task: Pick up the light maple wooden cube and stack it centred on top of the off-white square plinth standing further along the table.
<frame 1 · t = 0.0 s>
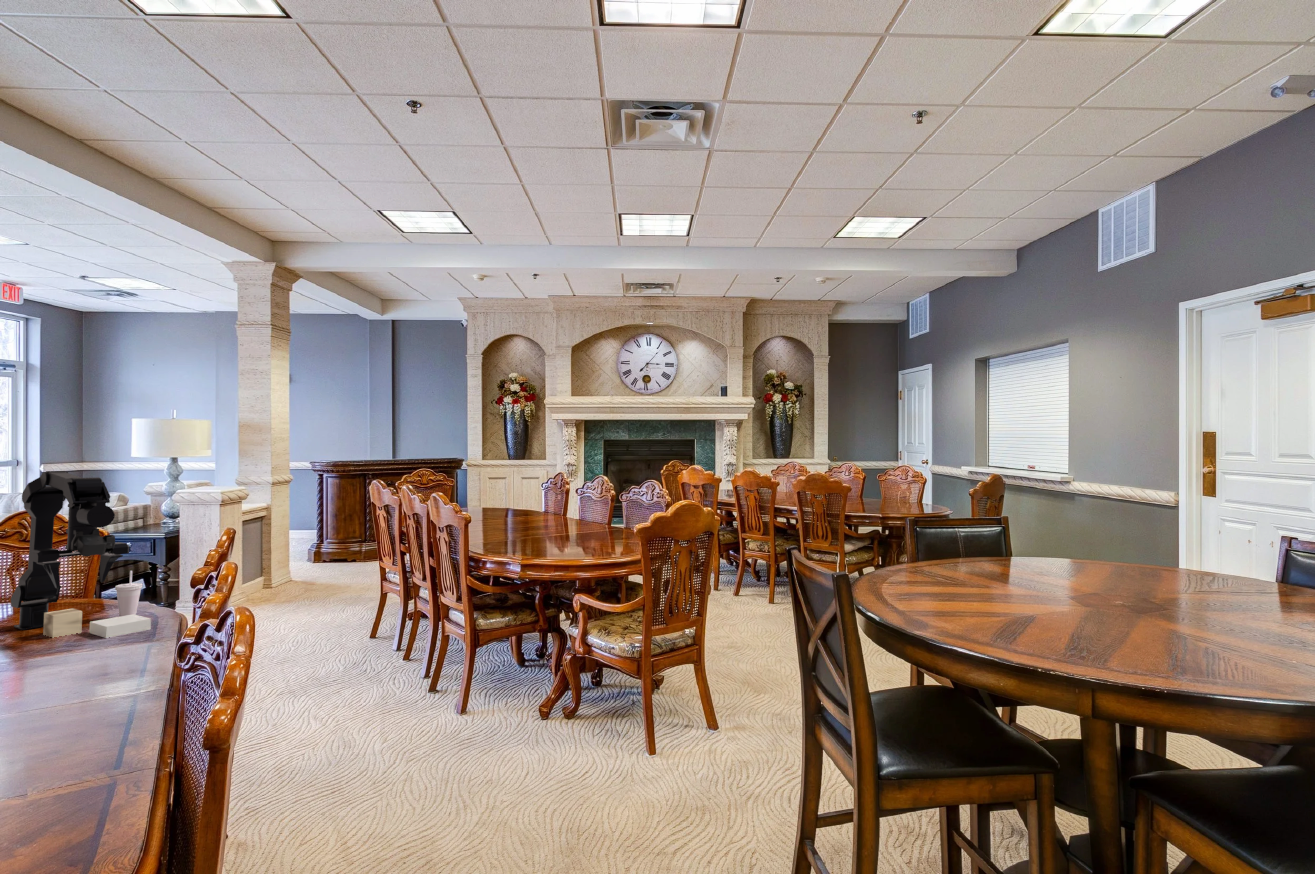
hand: (80, 584, 165), 15 cm above the table, tool pointing down, fingers open, 9 cm apart
smoothie: (127, 618, 189), on the table
maple cube: (62, 634, 172), on the table
plinth: (120, 631, 175), on the table
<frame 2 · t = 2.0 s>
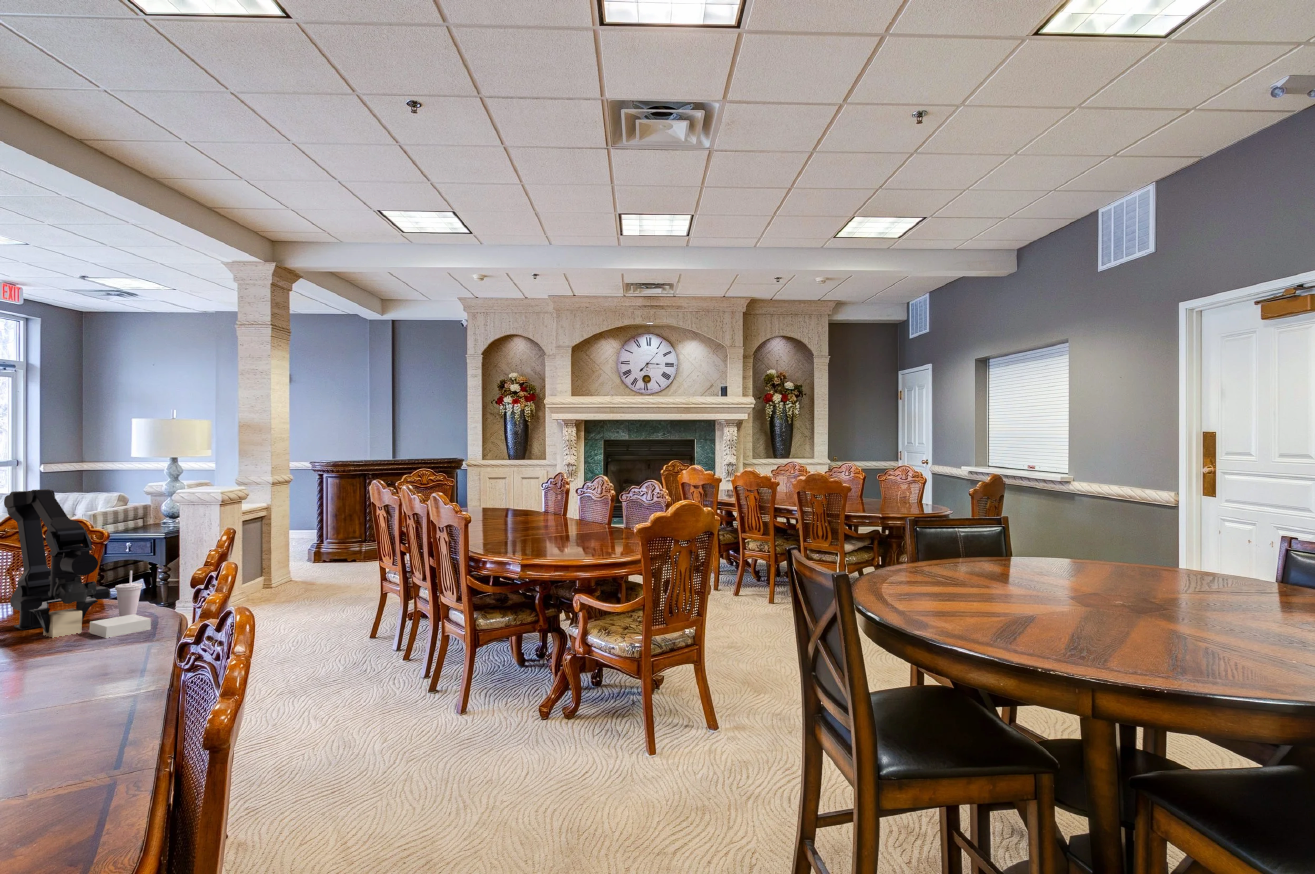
hand: (62, 629, 172), 1 cm above the table, tool pointing down, fingers closed on maple cube, 6 cm apart
maple cube: (62, 634, 172), on the table, touching gripper
everything else where it was.
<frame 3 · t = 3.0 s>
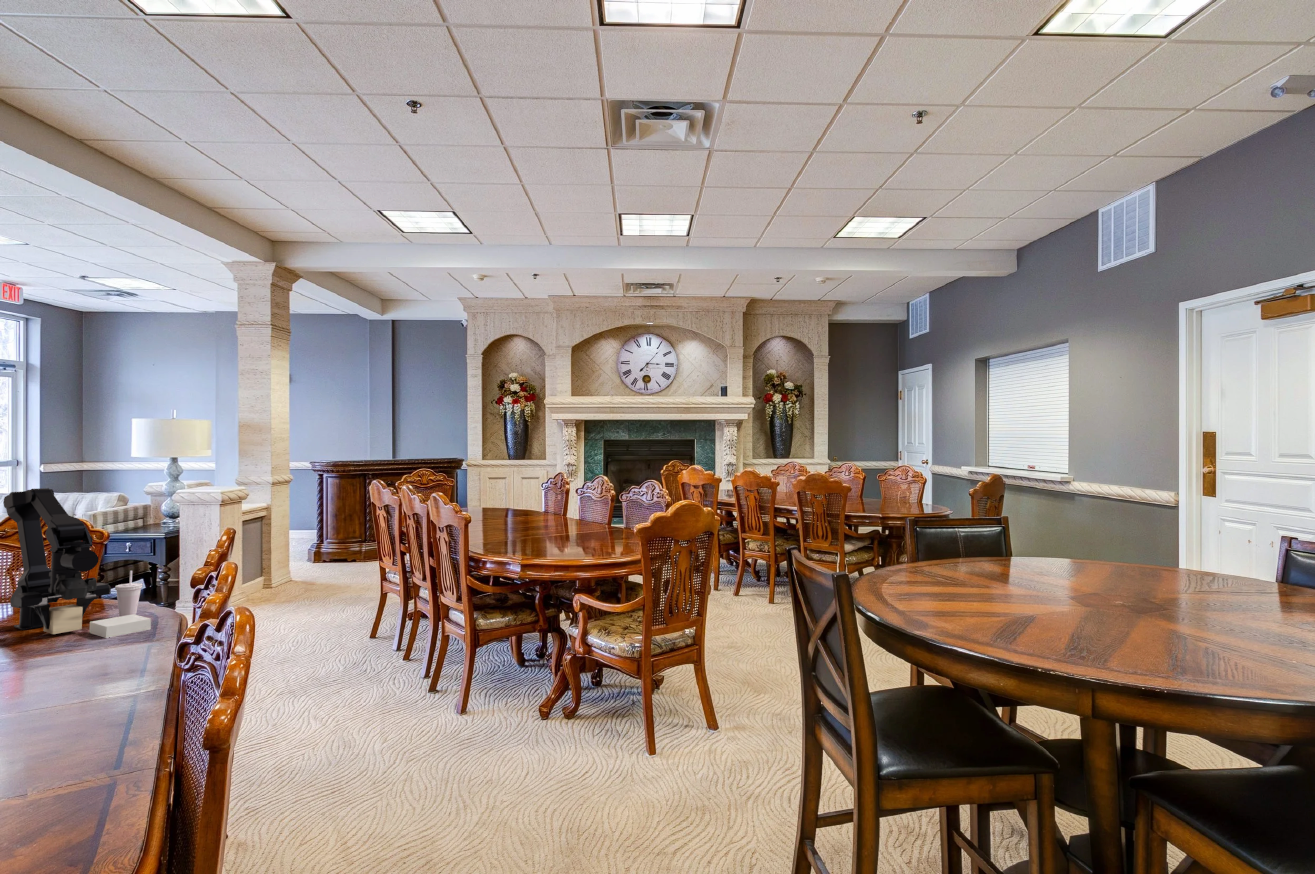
hand: (62, 626, 172), 2 cm above the table, tool pointing down, fingers closed on maple cube, 6 cm apart
maple cube: (62, 630, 172), point 1 cm above the table, touching gripper
everything else where it was.
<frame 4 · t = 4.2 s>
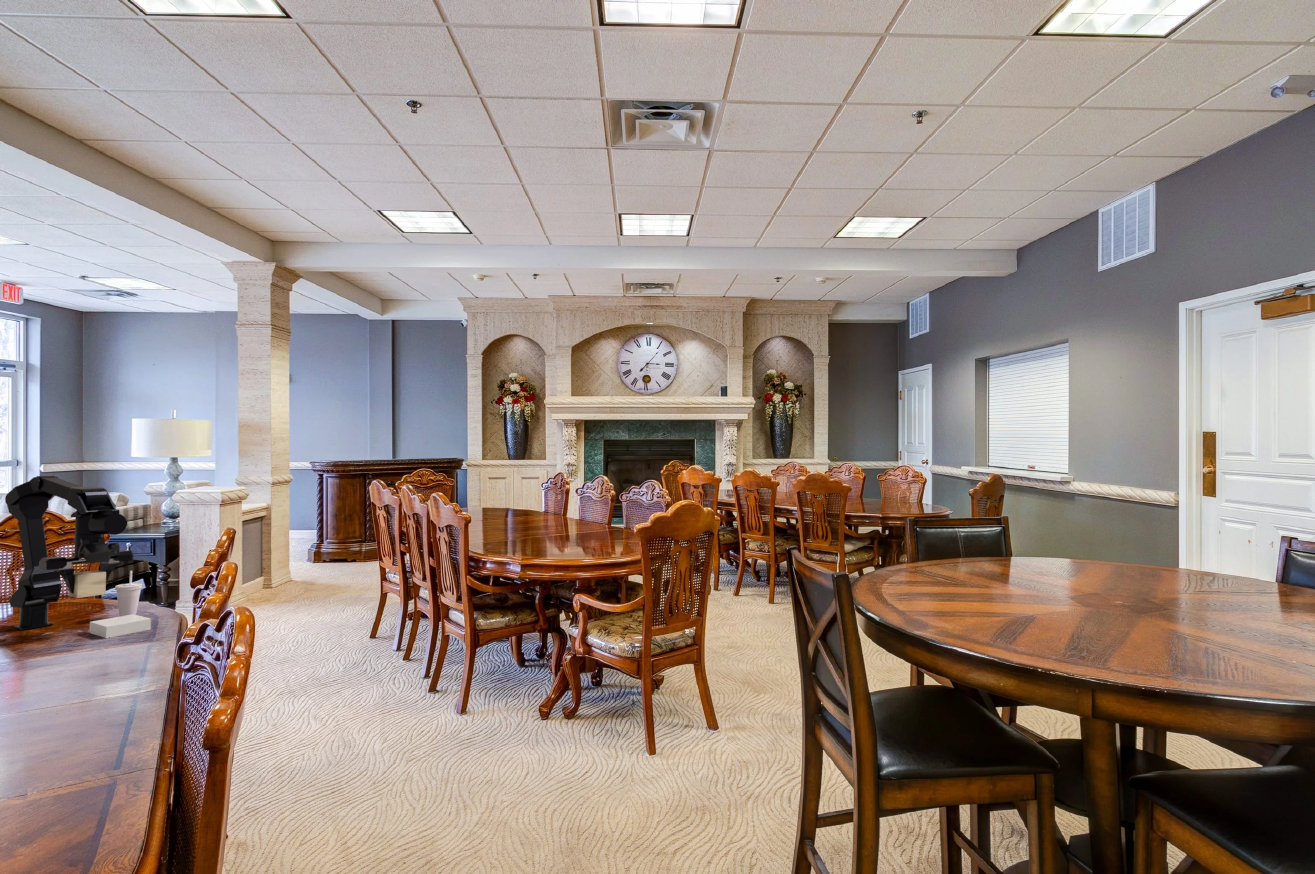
hand: (87, 590, 173), 11 cm above the table, tool pointing down, fingers closed on maple cube, 6 cm apart
maple cube: (86, 594, 173), point 10 cm above the table, touching gripper
everything else where it was.
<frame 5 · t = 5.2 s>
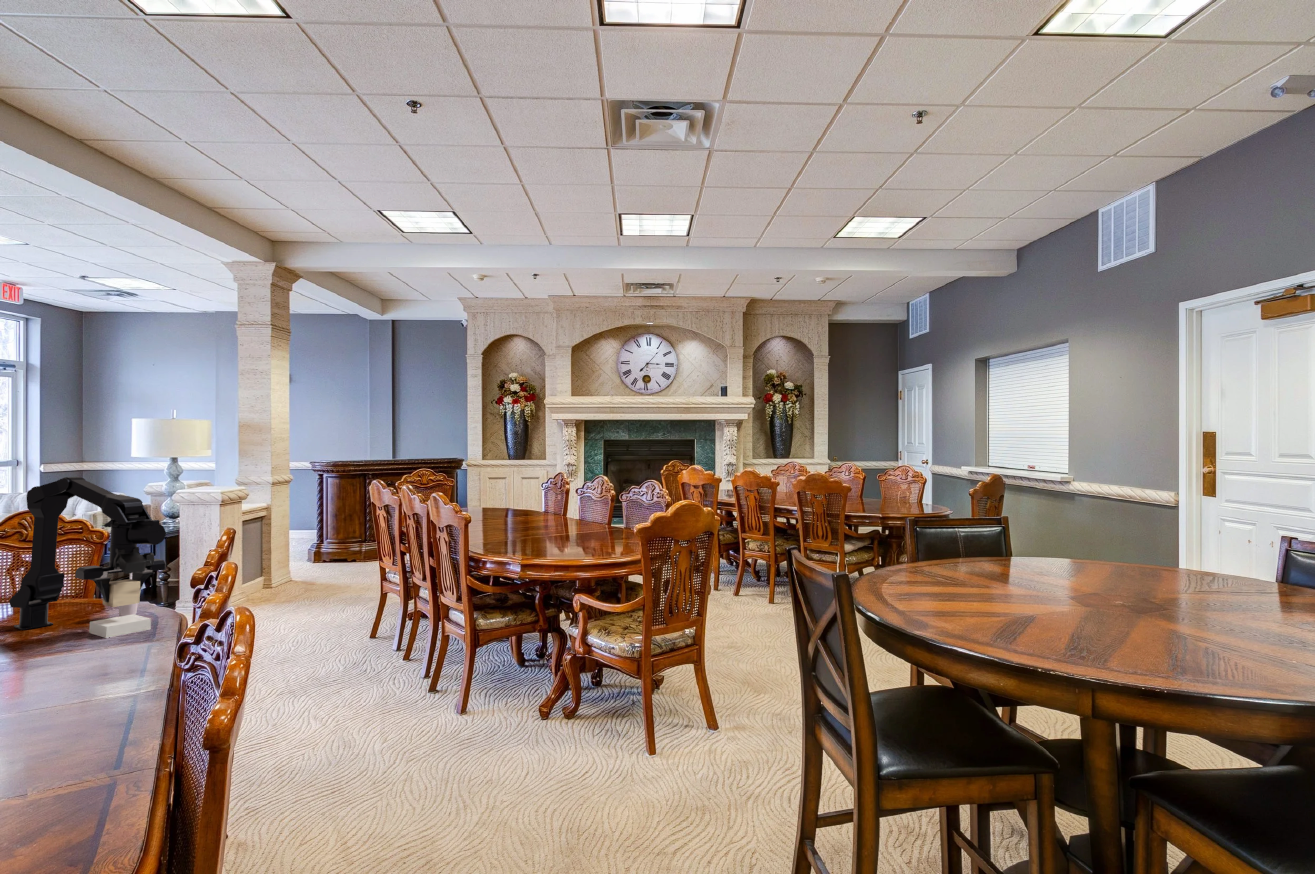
hand: (121, 599, 175), 9 cm above the table, tool pointing down, fingers closed on maple cube, 6 cm apart
maple cube: (121, 603, 175), point 8 cm above the table, touching gripper
everything else where it was.
when the fingers open (5 cm above the table, at t = 6.2 s): maple cube drops 1 cm, resting on plinth.
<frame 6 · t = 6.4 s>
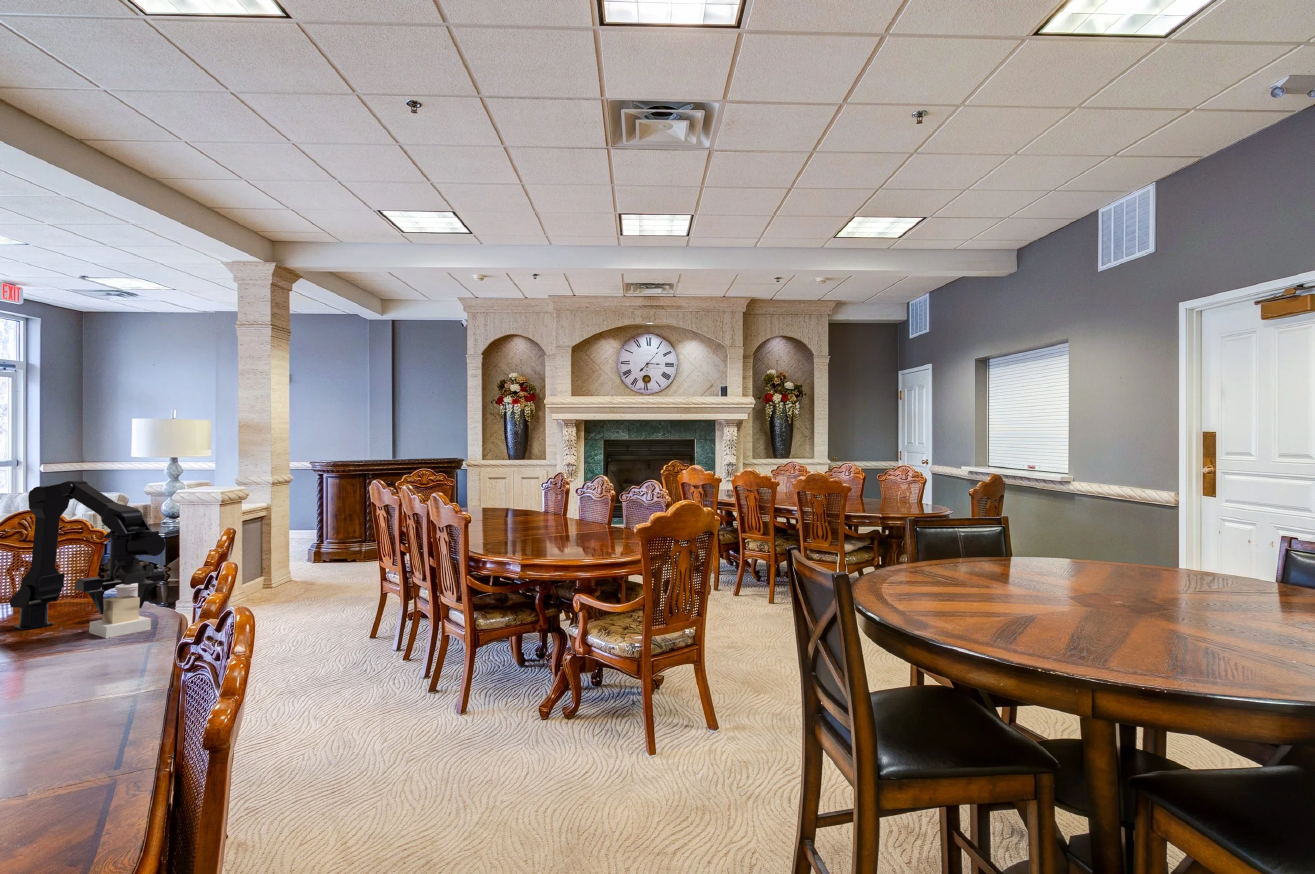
hand: (121, 611, 175), 5 cm above the table, tool pointing down, fingers open, 8 cm apart
maple cube: (120, 620, 175), point 3 cm above the table, touching plinth
everything else where it was.
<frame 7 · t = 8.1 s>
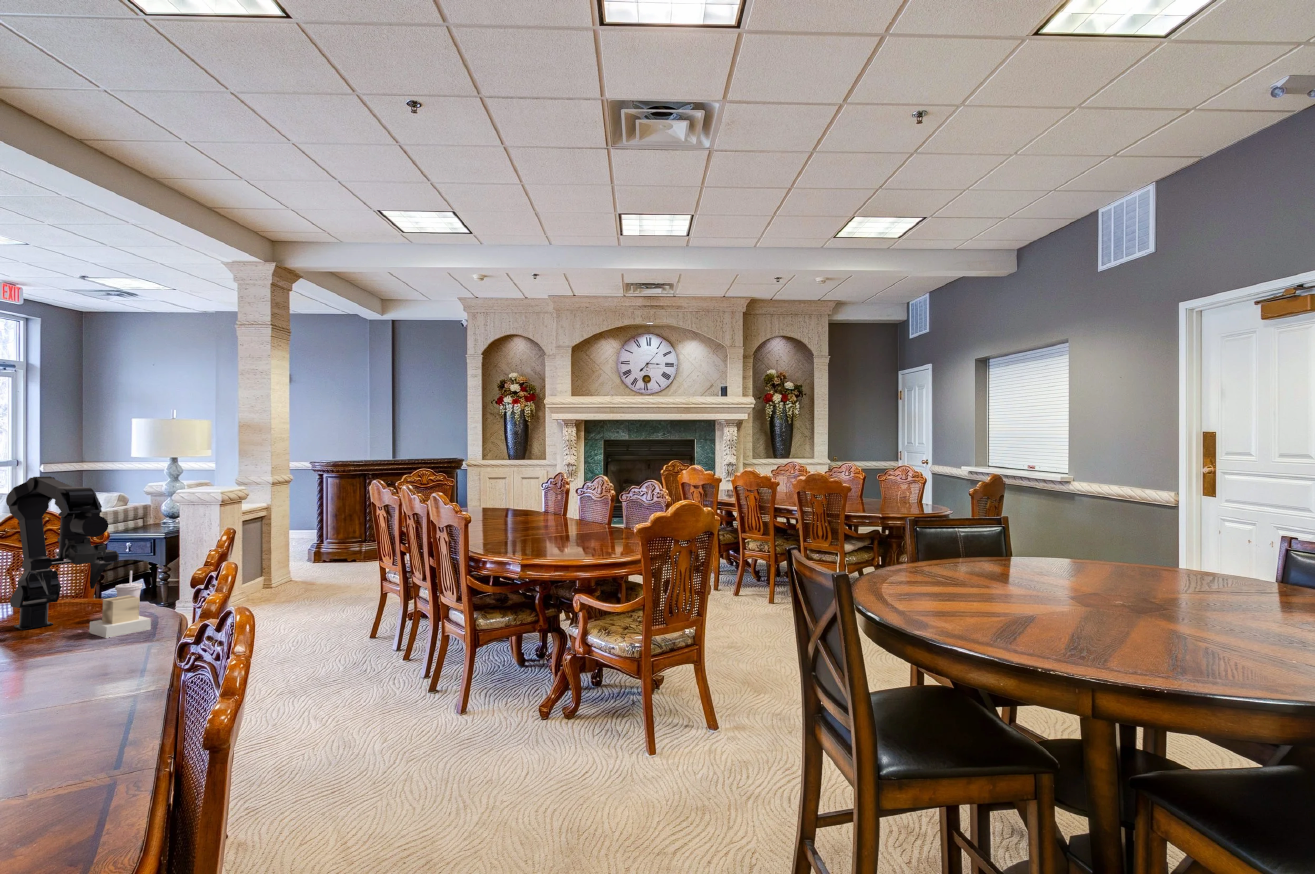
hand: (70, 591, 171), 12 cm above the table, tool pointing down, fingers open, 9 cm apart
nothing on the table moved.
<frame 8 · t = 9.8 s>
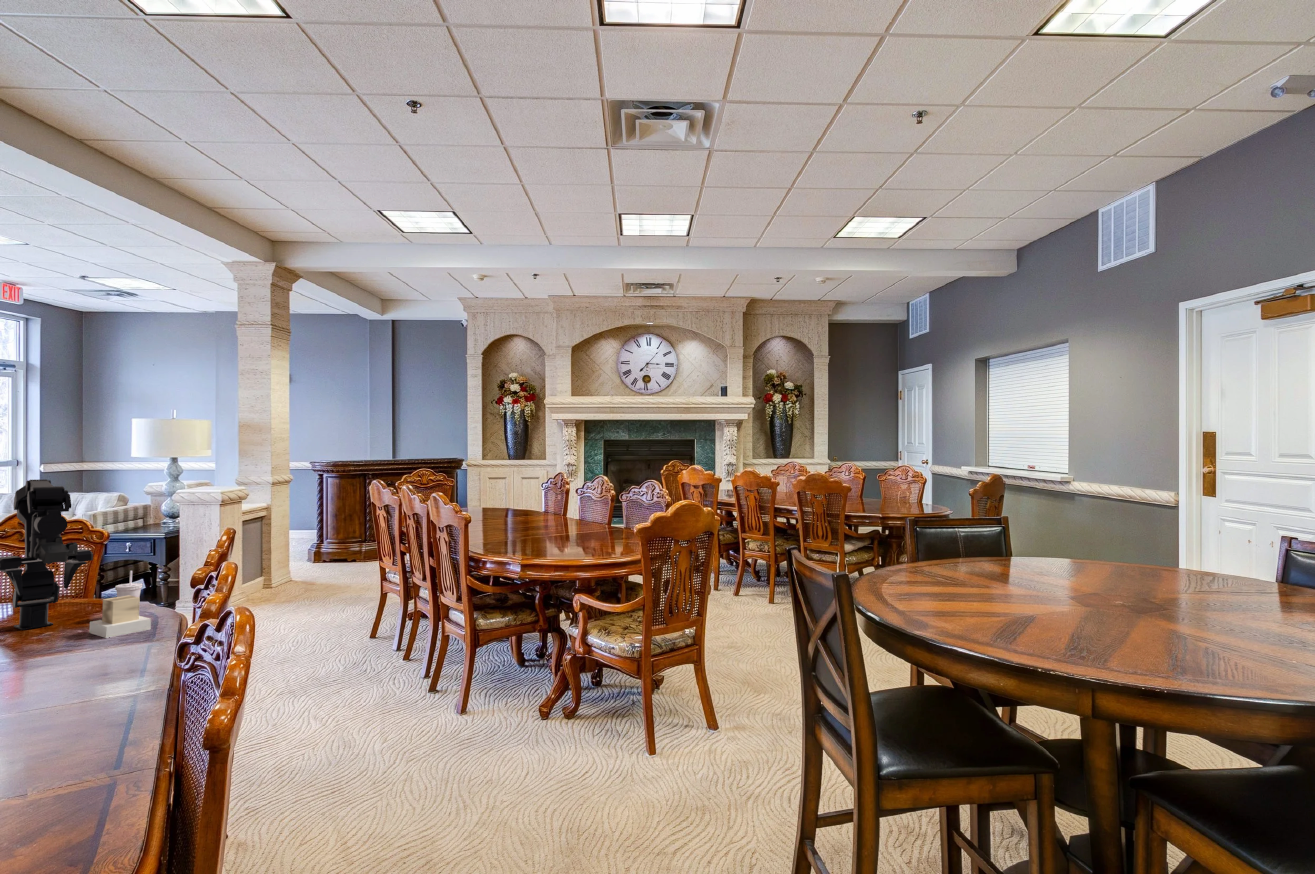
hand: (43, 591, 169), 12 cm above the table, tool pointing down, fingers open, 9 cm apart
nothing on the table moved.
at the end: maple cube 0.0 cm off-centre on the plinth, point 3.0 cm above the plinth's base; maple cube tilted 0°; the gripper is holding nothing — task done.
